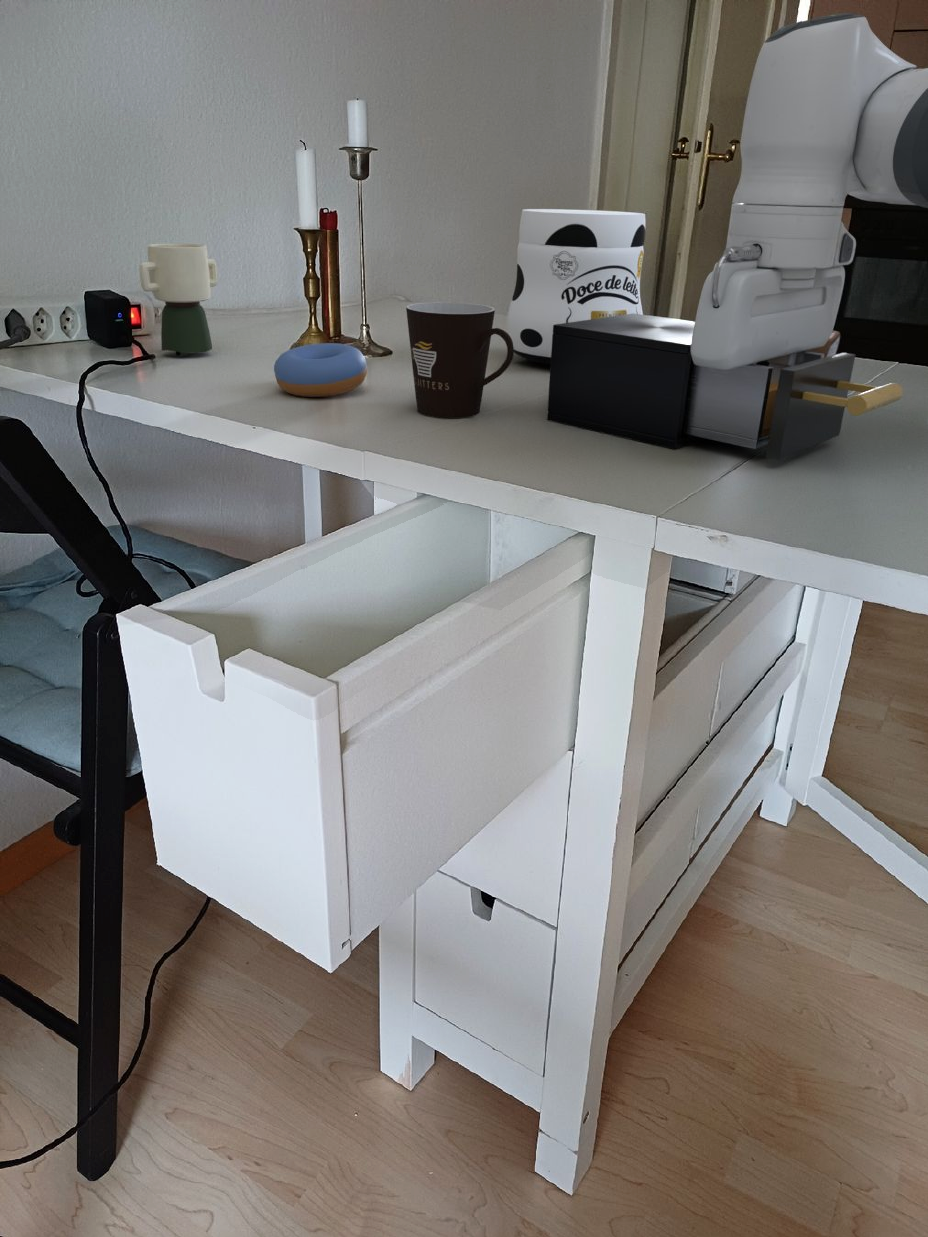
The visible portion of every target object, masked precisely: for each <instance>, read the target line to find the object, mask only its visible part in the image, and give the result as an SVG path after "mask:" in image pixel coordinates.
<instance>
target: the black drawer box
mask: <svg viewBox="0 0 928 1237" xmlns="http://www.w3.org/2000/svg"><path fill="white" fill-rule="evenodd" d="M694 324H695V320H694V321H693V320H687V319H679V318H672V317H671V318H670V317H662V316H655V315H647V314H643V315H641V314H634V313H633V314H626V315H619V316H612V317H605V318H598V319H591V320H584V321H577V322H569V323H562V324H555V325H553V335H552V350H551V365H549V366H550V367H549V383H548V397H547V398H548V399H547V414H546V415H547V416H546V421H549V422H550V421H551V422H555V423H559V424H563V425H568V426H572V427H576V428H580V429H585V430H589V431H593V432H597V433H602V434H606V435H611V436H615V437H619V438H624V439H628V440H632V441H637V442H641V443H645V444H648V445H649V444H650V445H655V446H658V447H662V448H667V449H672V450H677V449H680V448H683V447H686V446H690V445H693V444H695V443H698V442H701V441H704V440H707V439H706V438H702V437H697V436H692V435H688V434H683V433H682V425H683V418H684V410H685V402H686V394H687V387H688V379H689V371H690V363H691V341H692V335H693V330H694Z"/></svg>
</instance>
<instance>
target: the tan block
mask: <svg viewBox="0 0 928 1237" xmlns="http://www.w3.org/2000/svg"><path fill="white" fill-rule="evenodd" d="M777 388H778V383H774V382H770V388H769V394H768V400H767V406H766V412H765V418H764V424H763V430H766V429H769V428H771V423H772V418H773V412H774V406H775V400H776V394H777ZM763 430H762V431H763Z"/></svg>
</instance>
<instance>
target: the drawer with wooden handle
mask: <svg viewBox="0 0 928 1237" xmlns="http://www.w3.org/2000/svg"><path fill="white" fill-rule="evenodd" d="M855 360H856V354H855V353H847V352H840V353H836V354H835V355H833V356H829V357H825V358H824V354H823V353H815V352H808V351H802V352H798V353H797V356H796V362H795V365H794V366H791V367H788V368H784V369H781V371H780V377H779V382H778V388H777V394H776V400H775V406H774V412H773V418H772V423H771V428H769V429H766V430H763V424H764V418H765V412H766V406H767V400H768V394H769V388H770V382H771V377H772V371H773V367H769V364H770V363H769V362H767V360H766V361H761V362H757V363H756V364H749V365H745V366H741V367H737V368H733V369H729V370H722V369H715V368H708V367H703V366H698V365H695V364H694V362H693V360H692V356H691V363H690V371H689V379H688V387H687V394H686V402H685V410H684V418H683V425H682V433H683V434H688V435H692V436H697V437H702V438H706V439H705V440H711V441H716V442H720V443H725V444H728V445H729V444H730V445H733V446H738V447H742V448H743V447H744V448H749V449H753V450H757V449H759V448H762V447H765V446H767V448H766V453H765V458H766V459H771V460H776V461H780V460H782V459H785V458H787V457H789V456H792V455H794V454H797V453H800V452H802V451H805V450H807V449H810V448H812V447H814V446H816V445H819V444H821V443H824V442H826V441H829V440H832V439H833V438H836V437H839V436H840V433H841V428H842V423H843V418H844V413H845V409H846V410H847V411H848V413H849V414H850V415H851V416H854V417H858V416H862V415H864V414H867V413H869V412H870V413H871V412H872V411H875V410H878V409H880V408H882V407H885V406H887V405H890V404H892V403H895V402H898V401H899V400H901V398H902V397H903V394H904V389H903V387H902V385H901V384H899V383H897V382H890V383H887V384H884V385H881V386H878V385H877V386H876V385H871V384H865V383H859V382H852V380H851V379H852V374H853V370H854V365H855ZM849 391H852V392H856V393H858V394H856V395H852V396H851V397H850V398H848V393H849ZM762 430H763V431H762Z"/></svg>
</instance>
